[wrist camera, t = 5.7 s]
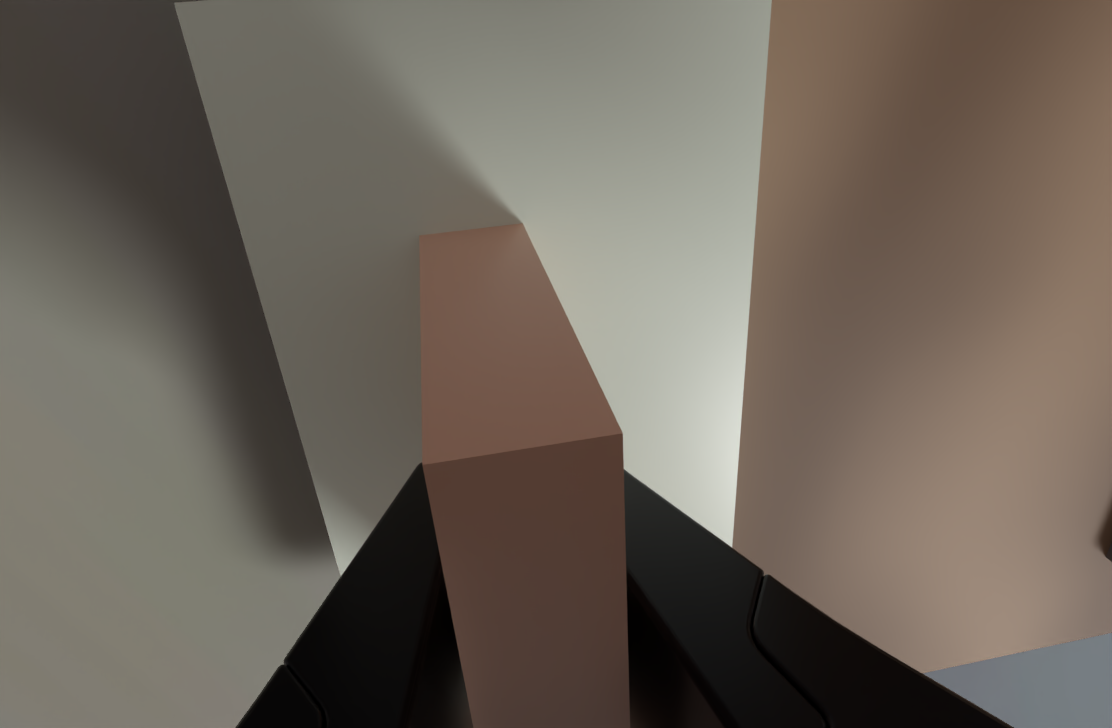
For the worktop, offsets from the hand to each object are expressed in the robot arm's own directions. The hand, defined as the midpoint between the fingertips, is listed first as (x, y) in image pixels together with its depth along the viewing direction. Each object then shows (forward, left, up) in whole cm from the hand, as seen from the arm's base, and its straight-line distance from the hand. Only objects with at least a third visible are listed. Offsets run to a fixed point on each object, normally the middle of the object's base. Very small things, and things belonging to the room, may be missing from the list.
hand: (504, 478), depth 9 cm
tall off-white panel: (0, 0, -1) cm, 1 cm away
